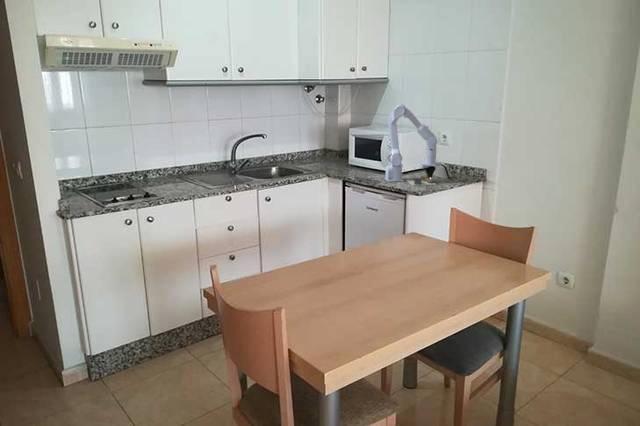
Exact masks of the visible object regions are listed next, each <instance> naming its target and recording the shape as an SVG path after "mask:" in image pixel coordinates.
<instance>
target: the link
mask: <svg viewBox="0 0 640 426" xmlns="http://www.w3.org/2000/svg"><path fill="white" fill-rule="evenodd" d="M420 179H421V180H424V181H427V182H428V183H435V179H434V178H433V180H429V179H430V178H428V176H425V175H422V176H421V175H420Z"/></svg>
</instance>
